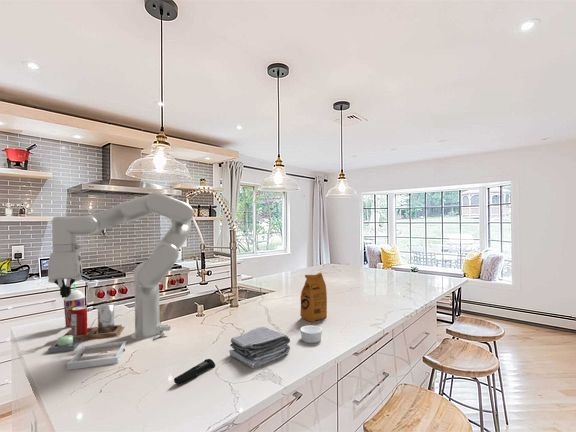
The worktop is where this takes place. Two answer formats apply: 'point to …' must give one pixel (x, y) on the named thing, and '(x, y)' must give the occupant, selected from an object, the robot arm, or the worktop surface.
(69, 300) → the smoothie
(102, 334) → the wooden compartment tray
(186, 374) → the electric trimmer
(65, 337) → the button
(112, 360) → the white square frame
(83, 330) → the soda can
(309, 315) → the coffee package
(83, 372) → the worktop surface
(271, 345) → the towel
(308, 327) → the ramekin
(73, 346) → the button box
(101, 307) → the steel billet
